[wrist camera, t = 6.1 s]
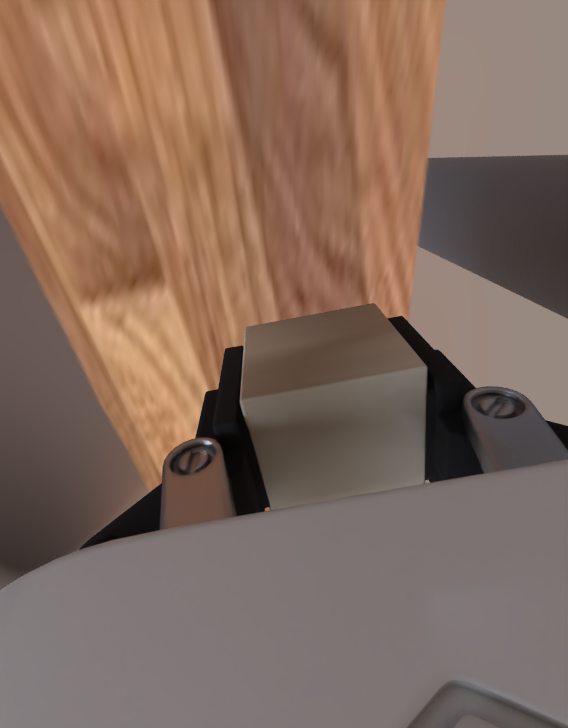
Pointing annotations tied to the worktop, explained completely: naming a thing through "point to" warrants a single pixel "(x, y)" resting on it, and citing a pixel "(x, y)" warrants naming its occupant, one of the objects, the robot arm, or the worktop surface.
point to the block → (333, 406)
